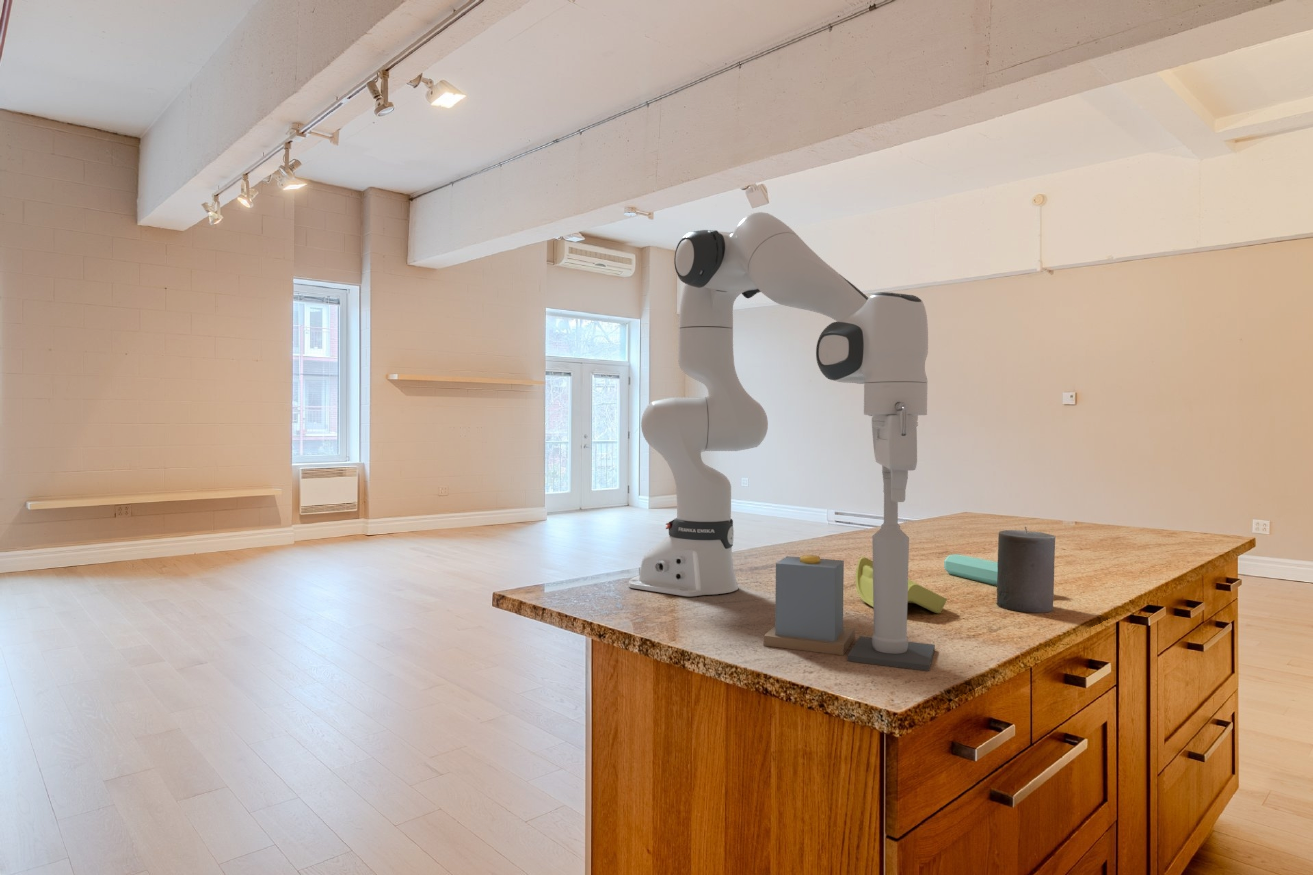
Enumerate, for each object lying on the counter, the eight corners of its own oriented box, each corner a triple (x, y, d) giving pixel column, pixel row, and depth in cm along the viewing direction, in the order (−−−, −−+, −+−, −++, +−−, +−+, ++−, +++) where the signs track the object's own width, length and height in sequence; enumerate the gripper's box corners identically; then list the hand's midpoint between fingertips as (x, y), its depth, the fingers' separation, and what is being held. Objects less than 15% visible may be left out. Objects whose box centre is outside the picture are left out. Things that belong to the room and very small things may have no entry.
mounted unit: (763, 645, 119) (764, 558, 119) (780, 629, 128) (781, 548, 128) (843, 655, 114) (844, 564, 114) (854, 638, 123) (855, 554, 123)
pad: (847, 660, 111) (847, 655, 111) (859, 641, 121) (859, 636, 121) (928, 671, 107) (928, 665, 107) (934, 649, 117) (934, 644, 117)
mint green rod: (943, 547, 178) (1033, 563, 155) (961, 555, 180) (1053, 573, 157) (935, 571, 177) (1024, 592, 154) (954, 580, 179) (1045, 601, 156)
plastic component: (952, 602, 139) (908, 580, 137) (934, 639, 139) (889, 617, 137) (895, 572, 159) (855, 552, 156) (879, 605, 158) (839, 585, 156)
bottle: (898, 656, 111) (899, 480, 111) (865, 649, 114) (866, 478, 114) (914, 649, 114) (915, 478, 114) (882, 642, 118) (883, 477, 118)
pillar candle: (988, 607, 145) (990, 526, 144) (1005, 598, 152) (1008, 521, 152) (1045, 616, 138) (1047, 532, 138) (1060, 606, 146) (1062, 526, 145)
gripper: (929, 401, 103) (928, 506, 103) (908, 404, 123) (906, 492, 123) (880, 401, 104) (878, 505, 104) (866, 404, 124) (865, 491, 124)
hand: (893, 498), depth 114 cm, fingers open, 8 cm apart
